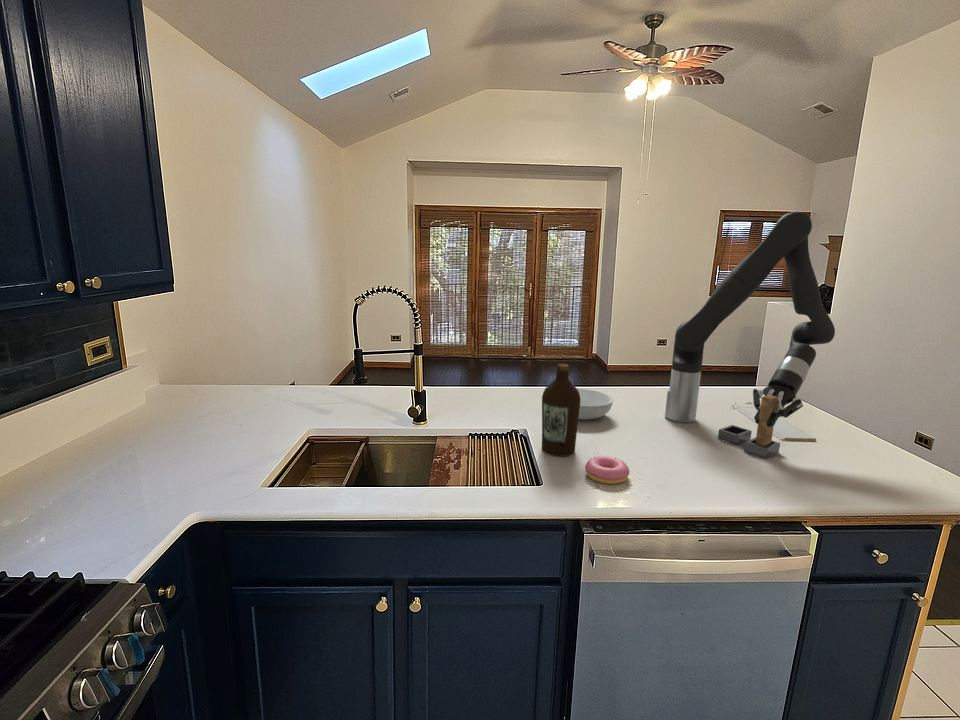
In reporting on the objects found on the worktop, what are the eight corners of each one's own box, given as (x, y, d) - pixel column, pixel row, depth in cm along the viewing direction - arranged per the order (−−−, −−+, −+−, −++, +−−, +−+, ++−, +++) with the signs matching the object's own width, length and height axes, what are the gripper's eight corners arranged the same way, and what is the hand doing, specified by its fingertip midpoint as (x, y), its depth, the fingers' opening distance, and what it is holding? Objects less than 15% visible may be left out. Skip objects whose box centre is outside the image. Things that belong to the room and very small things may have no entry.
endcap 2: (743, 451, 144) (745, 441, 143) (757, 445, 148) (758, 436, 147) (765, 458, 139) (767, 448, 138) (778, 452, 143) (780, 443, 143)
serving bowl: (608, 429, 159) (610, 409, 158) (544, 421, 166) (545, 401, 164) (613, 409, 179) (615, 391, 177) (555, 403, 185) (556, 385, 184)
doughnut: (579, 467, 132) (580, 453, 131) (620, 467, 133) (621, 452, 132) (591, 487, 121) (592, 471, 120) (635, 486, 122) (637, 470, 121)
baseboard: (775, 441, 153) (815, 443, 153) (777, 433, 152) (817, 434, 152) (729, 409, 183) (762, 410, 183) (730, 401, 182) (764, 402, 182)
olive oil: (547, 440, 150) (552, 359, 144) (582, 447, 144) (587, 363, 139) (533, 452, 141) (537, 366, 135) (569, 460, 135) (575, 371, 130)
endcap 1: (717, 438, 153) (718, 429, 152) (730, 433, 157) (732, 424, 157) (737, 445, 148) (738, 435, 147) (750, 439, 152) (751, 430, 152)
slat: (755, 443, 143) (761, 397, 140) (762, 440, 145) (768, 394, 142) (764, 446, 141) (771, 399, 138) (771, 443, 143) (778, 396, 140)
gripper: (761, 363, 148) (734, 410, 144) (813, 373, 137) (785, 424, 133) (767, 378, 152) (741, 424, 148) (818, 389, 141) (792, 438, 137)
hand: (762, 423), depth 140 cm, fingers closed on slat, 2 cm apart
